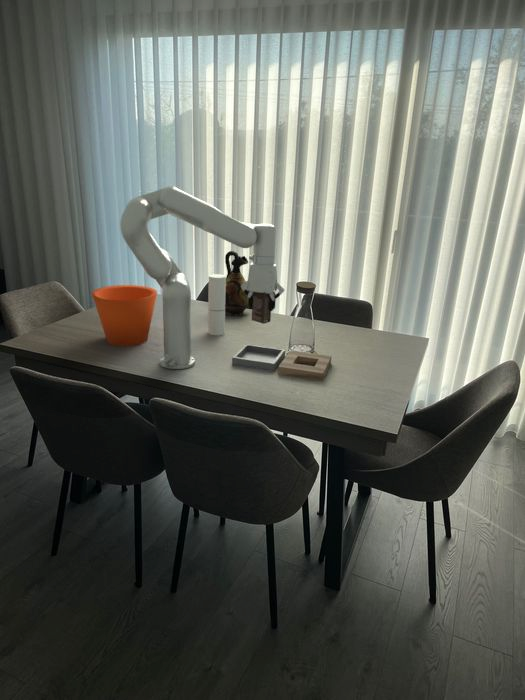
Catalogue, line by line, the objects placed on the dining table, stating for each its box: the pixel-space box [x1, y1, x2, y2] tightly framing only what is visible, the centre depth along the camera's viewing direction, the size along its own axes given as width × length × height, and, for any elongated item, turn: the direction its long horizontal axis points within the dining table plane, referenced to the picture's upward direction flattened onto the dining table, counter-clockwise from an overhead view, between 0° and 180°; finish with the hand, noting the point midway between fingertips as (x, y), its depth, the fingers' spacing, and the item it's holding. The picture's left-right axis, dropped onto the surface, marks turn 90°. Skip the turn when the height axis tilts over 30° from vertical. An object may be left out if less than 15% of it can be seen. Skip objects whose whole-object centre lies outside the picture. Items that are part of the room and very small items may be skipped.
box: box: [251, 292, 272, 325], centre depth 186 cm, size 6×4×12 cm
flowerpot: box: [91, 284, 158, 347], centre depth 206 cm, size 25×25×20 cm
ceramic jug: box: [224, 250, 249, 316], centre depth 249 cm, size 17×15×30 cm
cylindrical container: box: [207, 273, 227, 336], centre depth 218 cm, size 7×7×25 cm
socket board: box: [277, 349, 332, 382], centre depth 187 cm, size 18×16×3 cm
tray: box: [231, 343, 286, 372], centre depth 193 cm, size 16×16×3 cm
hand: (261, 308), depth 186 cm, fingers closed on box, 7 cm apart
